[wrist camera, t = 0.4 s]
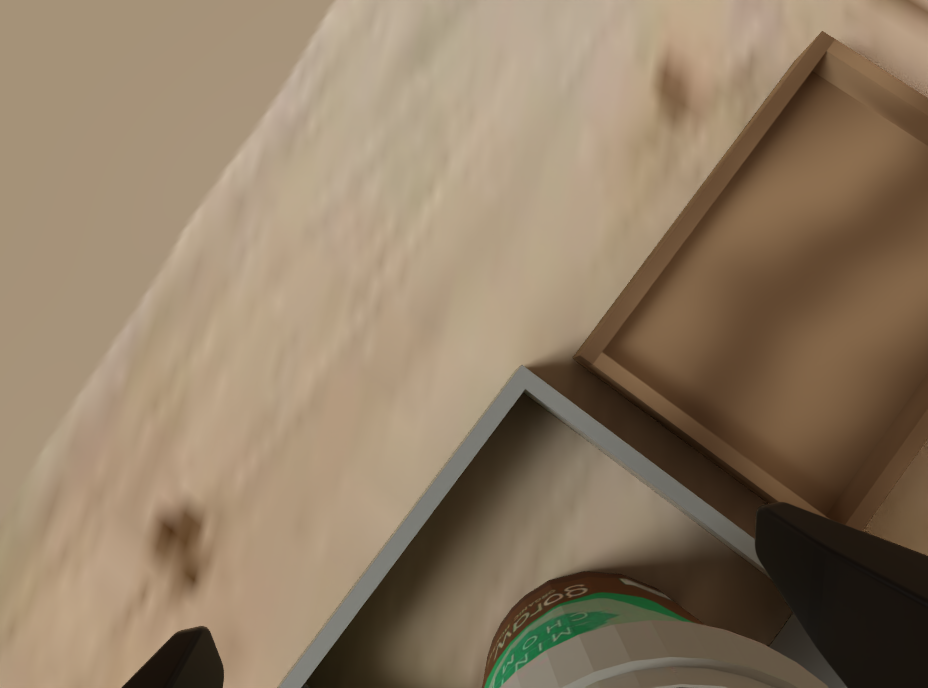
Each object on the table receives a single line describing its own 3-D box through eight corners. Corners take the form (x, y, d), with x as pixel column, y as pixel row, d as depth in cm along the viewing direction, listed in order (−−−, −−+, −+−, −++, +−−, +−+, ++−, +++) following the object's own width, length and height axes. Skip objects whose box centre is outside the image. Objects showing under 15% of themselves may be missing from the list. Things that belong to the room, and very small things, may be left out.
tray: (1040, 220, 22) (1093, 204, 20) (814, 537, 22) (846, 552, 20) (794, 61, 24) (822, 30, 22) (572, 358, 23) (580, 355, 21)
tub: (822, 599, 22) (898, 646, 18) (580, 939, 21) (602, 1068, 17) (516, 369, 23) (521, 364, 19) (280, 682, 22) (235, 745, 18)
